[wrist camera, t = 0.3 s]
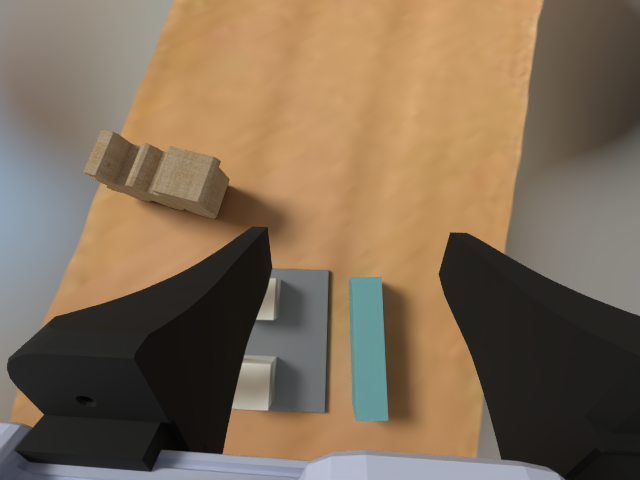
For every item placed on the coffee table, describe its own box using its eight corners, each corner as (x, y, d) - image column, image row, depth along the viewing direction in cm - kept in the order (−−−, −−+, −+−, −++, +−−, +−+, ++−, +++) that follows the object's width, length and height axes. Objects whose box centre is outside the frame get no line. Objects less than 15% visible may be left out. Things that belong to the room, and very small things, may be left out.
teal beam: (379, 403, 37) (388, 420, 32) (352, 403, 37) (356, 420, 32) (374, 278, 39) (381, 277, 34) (348, 279, 39) (351, 277, 35)
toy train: (137, 162, 43) (82, 124, 33) (243, 188, 42) (217, 157, 32) (124, 195, 42) (63, 166, 32) (231, 223, 41) (201, 202, 31)
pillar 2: (278, 317, 38) (273, 320, 34) (242, 315, 38) (232, 318, 34) (281, 279, 39) (275, 278, 35) (245, 278, 39) (235, 277, 35)
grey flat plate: (324, 410, 36) (324, 412, 36) (202, 404, 37) (200, 406, 36) (328, 270, 39) (328, 270, 39) (215, 266, 40) (214, 266, 39)
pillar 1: (274, 397, 36) (268, 410, 32) (235, 395, 36) (224, 408, 32) (276, 356, 37) (270, 364, 33) (239, 354, 37) (228, 362, 33)
